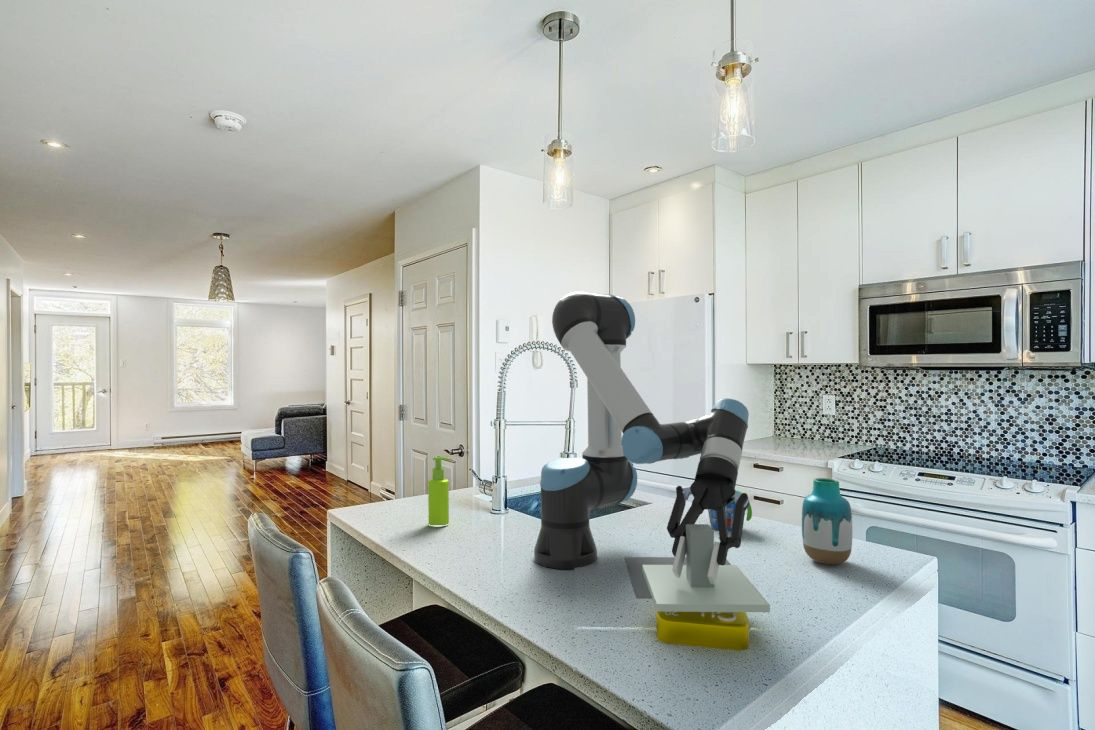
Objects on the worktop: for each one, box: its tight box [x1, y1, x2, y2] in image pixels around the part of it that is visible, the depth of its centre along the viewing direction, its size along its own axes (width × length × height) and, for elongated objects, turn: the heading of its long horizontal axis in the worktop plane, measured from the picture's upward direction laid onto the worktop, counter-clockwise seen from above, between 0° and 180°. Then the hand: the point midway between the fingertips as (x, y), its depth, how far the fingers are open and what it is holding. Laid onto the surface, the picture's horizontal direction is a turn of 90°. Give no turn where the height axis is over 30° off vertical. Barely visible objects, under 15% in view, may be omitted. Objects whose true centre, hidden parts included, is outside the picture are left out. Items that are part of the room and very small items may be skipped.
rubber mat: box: [623, 556, 732, 599], centre depth 122 cm, size 24×24×1 cm
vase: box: [801, 477, 853, 565], centre depth 131 cm, size 11×11×19 cm
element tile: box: [655, 610, 750, 652], centre depth 99 cm, size 15×15×5 cm
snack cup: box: [707, 489, 753, 532], centre depth 159 cm, size 16×10×10 cm
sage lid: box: [642, 523, 771, 613], centre depth 99 cm, size 18×18×11 cm
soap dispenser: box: [427, 456, 453, 525], centre depth 165 cm, size 6×7×20 cm
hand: (693, 576), depth 96 cm, fingers closed on sage lid, 5 cm apart
